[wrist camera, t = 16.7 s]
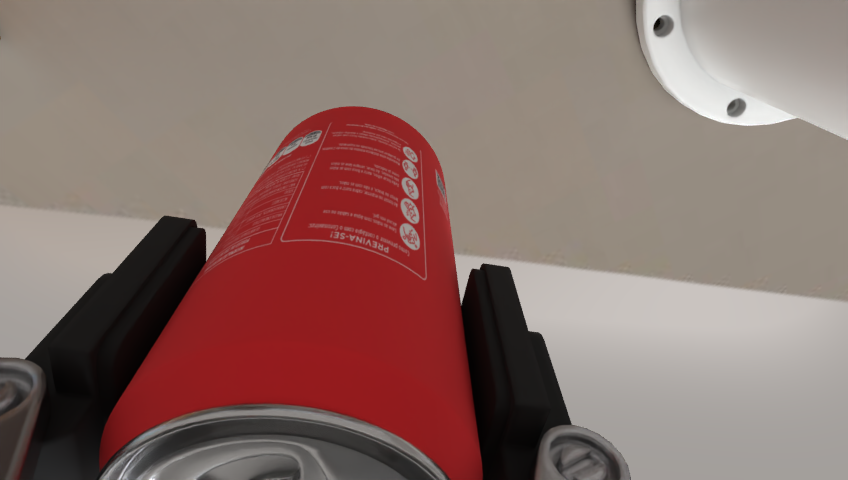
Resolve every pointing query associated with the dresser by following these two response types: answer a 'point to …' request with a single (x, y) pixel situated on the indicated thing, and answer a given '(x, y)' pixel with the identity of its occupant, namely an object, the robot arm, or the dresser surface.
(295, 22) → the dresser surface
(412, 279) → the beverage can
